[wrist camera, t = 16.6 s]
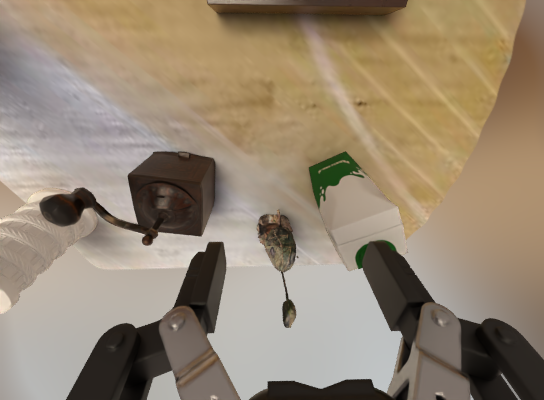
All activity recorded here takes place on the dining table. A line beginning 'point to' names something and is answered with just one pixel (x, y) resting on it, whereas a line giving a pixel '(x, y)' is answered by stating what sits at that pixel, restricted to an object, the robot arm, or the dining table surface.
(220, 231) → the dining table surface
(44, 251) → the decorative container
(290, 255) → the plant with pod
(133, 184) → the manual coffee grinder
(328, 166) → the milk carton
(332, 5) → the rack
